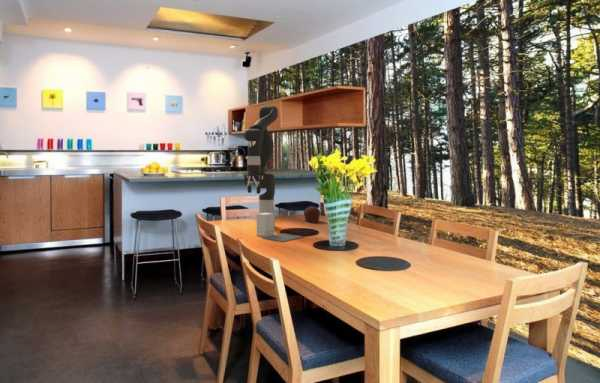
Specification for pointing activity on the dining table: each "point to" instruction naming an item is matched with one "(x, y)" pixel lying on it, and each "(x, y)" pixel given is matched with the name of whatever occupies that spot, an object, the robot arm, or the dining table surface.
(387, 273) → the dining table surface
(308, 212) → the muffin
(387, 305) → the dining table surface
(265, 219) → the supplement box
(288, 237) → the mat
